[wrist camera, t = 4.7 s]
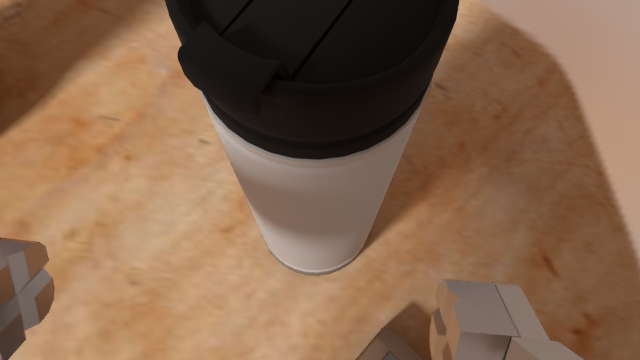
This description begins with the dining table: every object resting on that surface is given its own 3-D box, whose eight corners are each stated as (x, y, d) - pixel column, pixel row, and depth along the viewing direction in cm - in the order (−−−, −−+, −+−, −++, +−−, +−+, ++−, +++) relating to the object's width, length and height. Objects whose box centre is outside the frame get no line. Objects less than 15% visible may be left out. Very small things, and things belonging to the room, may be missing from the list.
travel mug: (238, 245, 27) (71, 3, 9) (299, 156, 30) (269, -195, 11) (330, 302, 26) (365, 167, 8) (387, 206, 28) (524, -88, 10)
